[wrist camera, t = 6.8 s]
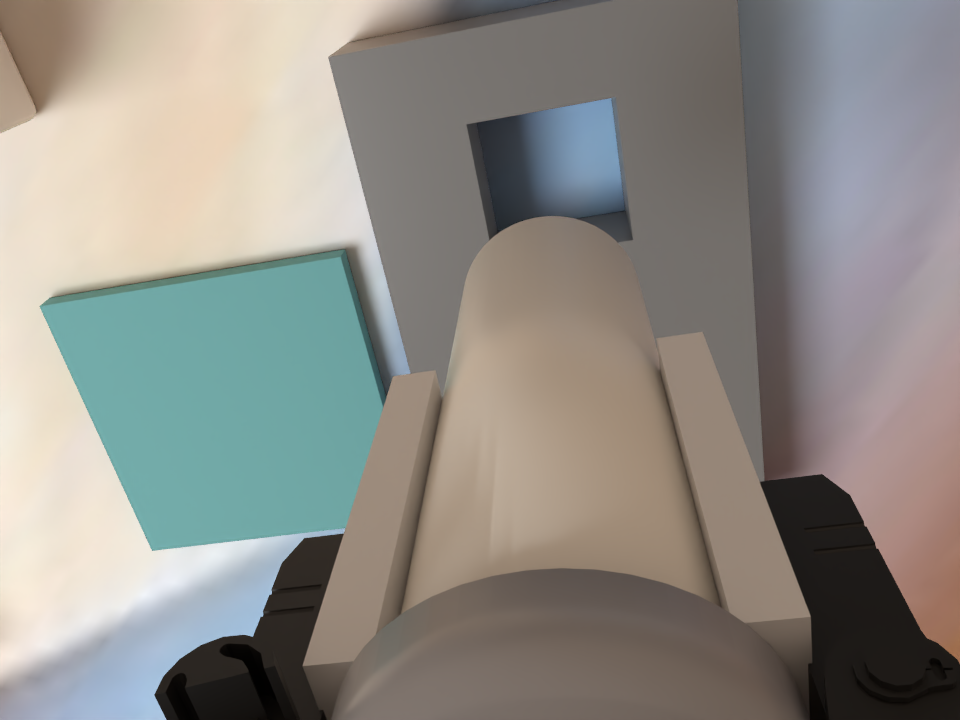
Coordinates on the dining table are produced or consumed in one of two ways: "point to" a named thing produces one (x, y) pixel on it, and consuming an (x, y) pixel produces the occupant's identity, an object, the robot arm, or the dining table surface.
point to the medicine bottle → (12, 93)
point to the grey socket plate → (641, 148)
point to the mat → (229, 396)
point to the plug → (560, 519)
